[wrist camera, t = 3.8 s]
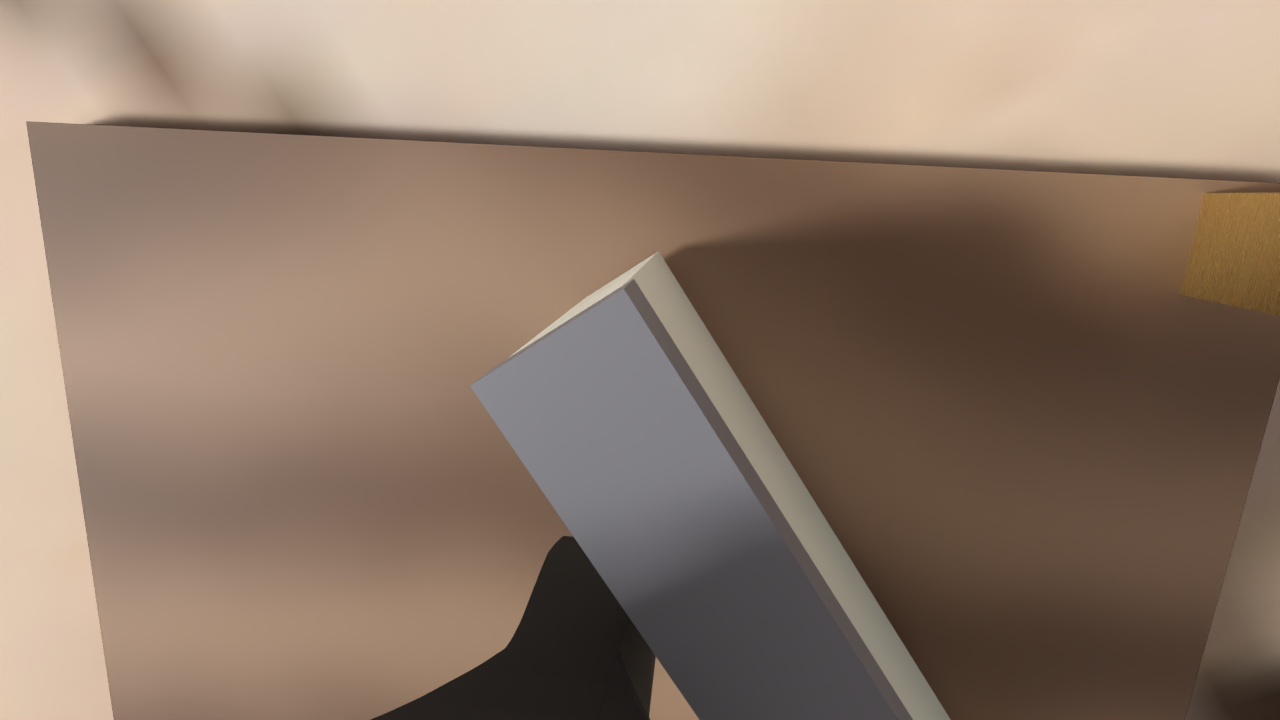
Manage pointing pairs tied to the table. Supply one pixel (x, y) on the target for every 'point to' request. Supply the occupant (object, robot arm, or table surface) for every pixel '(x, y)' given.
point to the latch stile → (1237, 252)
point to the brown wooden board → (749, 340)
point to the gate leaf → (697, 513)
